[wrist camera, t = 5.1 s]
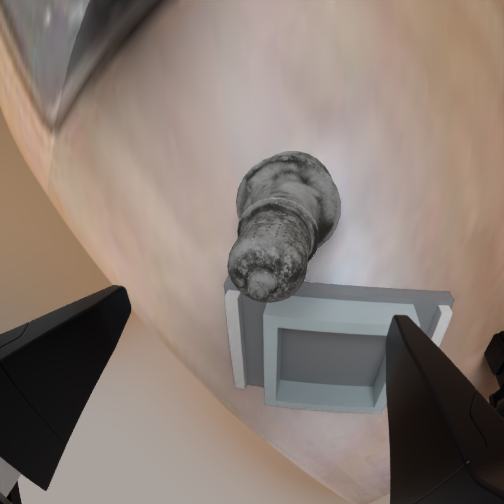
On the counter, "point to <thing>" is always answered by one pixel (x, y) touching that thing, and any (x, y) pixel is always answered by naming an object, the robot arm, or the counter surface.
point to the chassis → (325, 342)
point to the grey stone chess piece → (281, 224)
